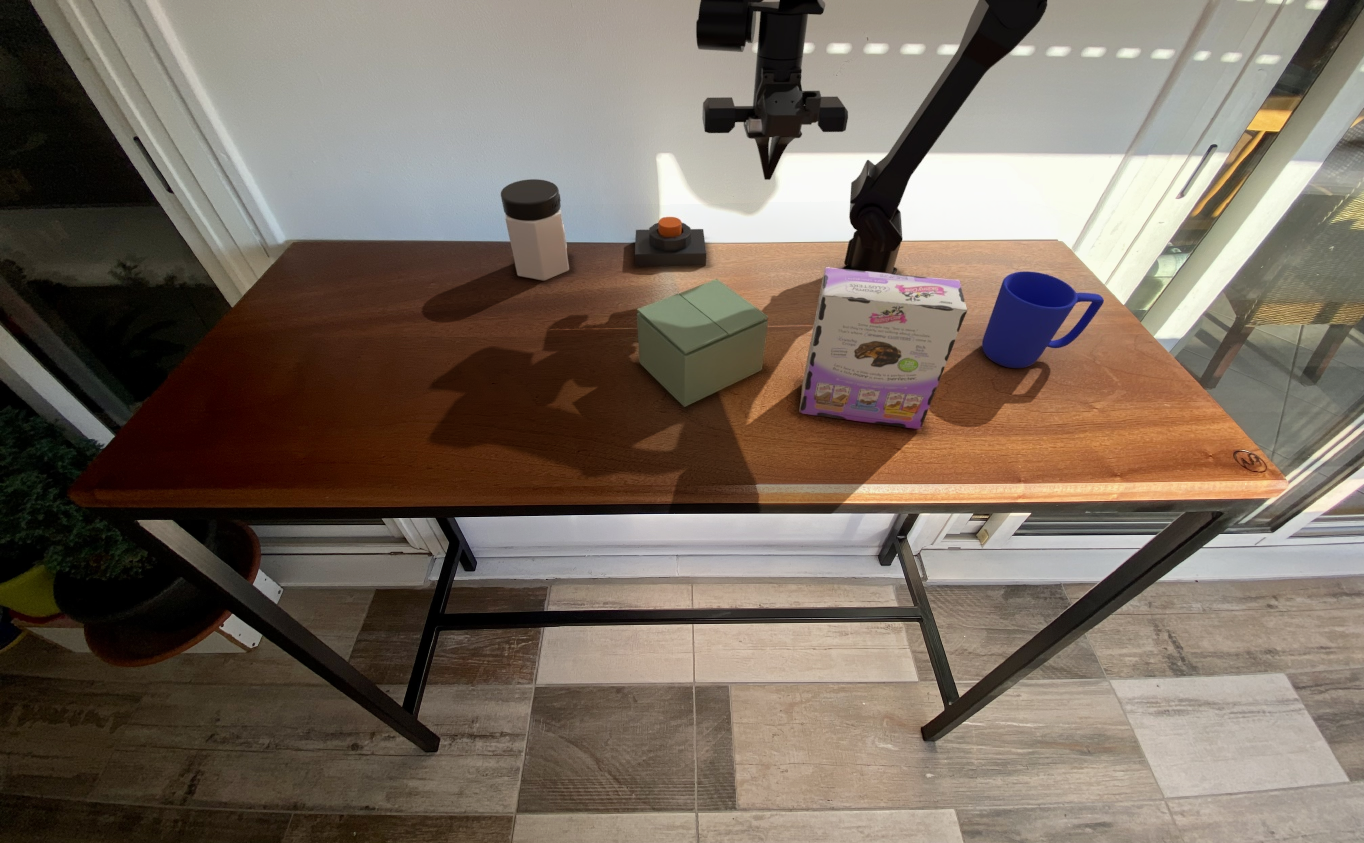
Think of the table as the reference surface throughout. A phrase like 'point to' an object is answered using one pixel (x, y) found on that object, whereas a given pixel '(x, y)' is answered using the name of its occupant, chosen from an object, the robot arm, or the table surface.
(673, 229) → the button
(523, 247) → the jar
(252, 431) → the table surface
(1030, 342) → the mug
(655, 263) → the control block
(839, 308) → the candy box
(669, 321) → the carton
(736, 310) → the flap
